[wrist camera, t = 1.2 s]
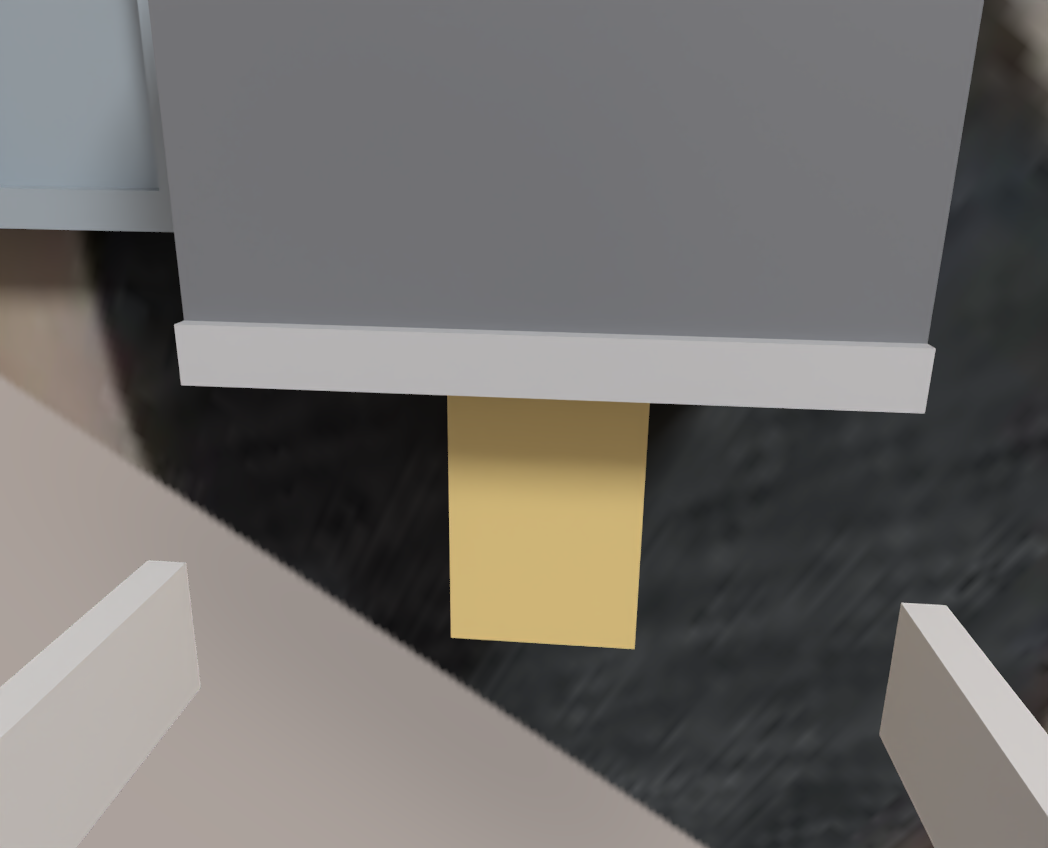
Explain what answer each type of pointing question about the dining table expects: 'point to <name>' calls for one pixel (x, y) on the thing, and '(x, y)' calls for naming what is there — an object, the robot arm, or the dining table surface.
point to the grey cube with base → (564, 195)
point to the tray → (80, 118)
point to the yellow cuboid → (545, 519)
